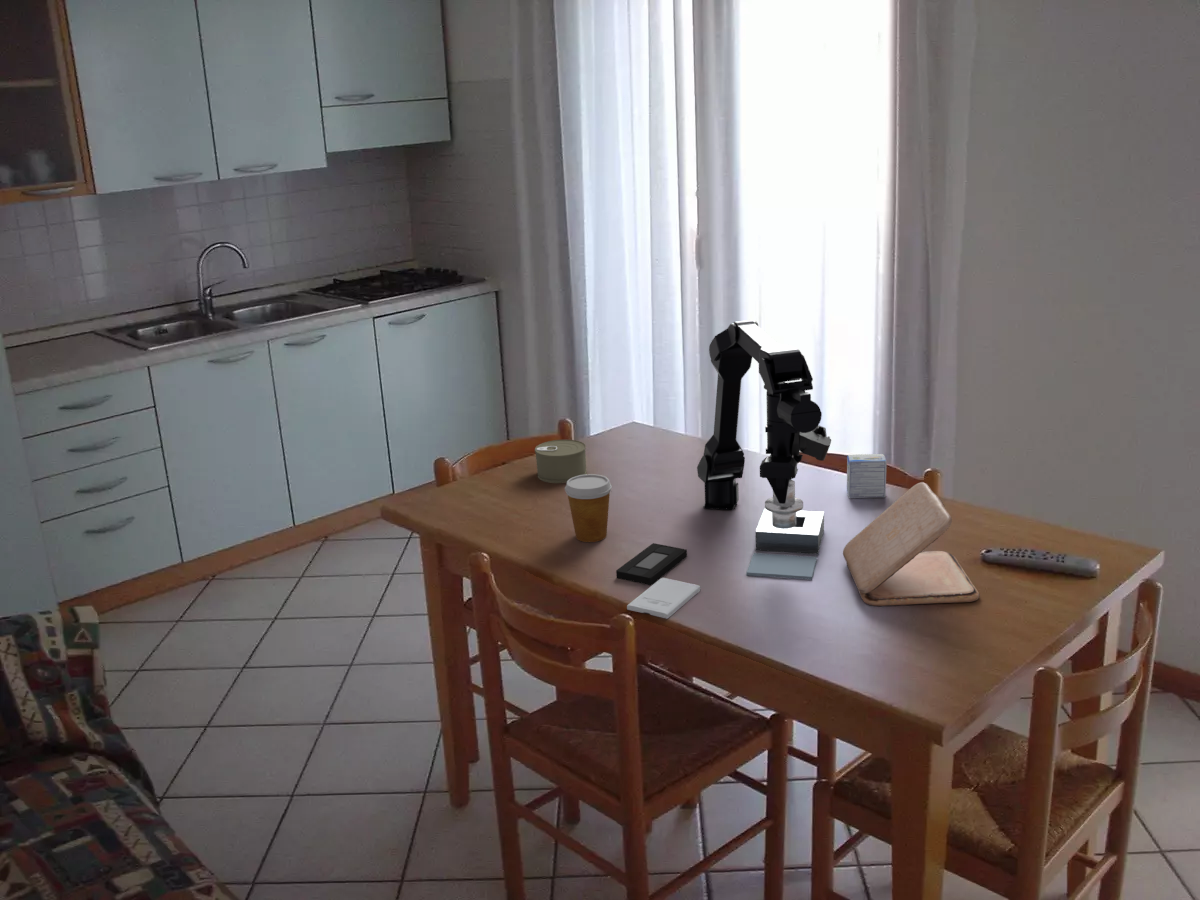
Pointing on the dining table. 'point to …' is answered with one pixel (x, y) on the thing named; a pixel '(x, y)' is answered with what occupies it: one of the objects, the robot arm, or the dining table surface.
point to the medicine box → (866, 476)
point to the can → (560, 460)
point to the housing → (791, 534)
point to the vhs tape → (651, 564)
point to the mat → (782, 566)
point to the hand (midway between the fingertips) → (783, 499)
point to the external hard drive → (664, 597)
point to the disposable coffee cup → (589, 505)
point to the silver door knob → (784, 508)
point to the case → (907, 555)
